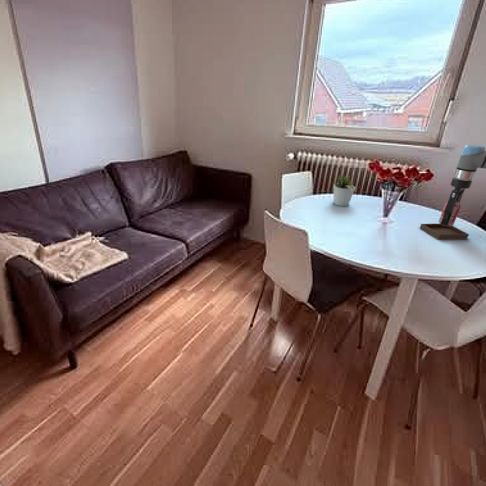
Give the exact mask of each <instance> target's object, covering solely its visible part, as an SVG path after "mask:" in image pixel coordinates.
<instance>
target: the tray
mask: <svg viewBox="0 0 486 486" xmlns="http://www.w3.org/2000/svg"><path fill="white" fill-rule="evenodd" d="M419 229H420V230H422V231H423V232H425V233H426V234H428V235H430V236H431V237H433V238H435V239H436V240H438V241H439V240H467V239H468V238H469V235H470V234H469V233H467V232H465V231H464V230H462V229H460V228H458V227H456V226H454V225H453V226H443V225H441V224H440V223H420V226H419Z"/></svg>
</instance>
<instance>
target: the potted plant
mask: <svg viewBox="0 0 486 486" xmlns="http://www.w3.org/2000/svg"><path fill="white" fill-rule="evenodd" d="M350 177H351V175H350V174H349V175H348V176H347V175H345V174H340V175H338V178H337V177H336V179H337V180H336V183H335V182H333V181H331V183H332V185H333V204H334V205H336V206H340V207H347V206H349V204H350V202H351V200H352V197H353V195H354V192H355V191H356V186H354V184H355V182H354V181H351V179H350Z"/></svg>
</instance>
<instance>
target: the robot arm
mask: <svg viewBox="0 0 486 486" xmlns="http://www.w3.org/2000/svg"><path fill="white" fill-rule="evenodd" d="M485 149H486V147H485V146H484V145H479V144H466V145H465V146H464V147H463V148H462V151H461V154H460V156H459V160H458V162H457V165H456V169H454V170H453V173H454V174H453V177H452V180H451V182H450V186H451V187H453V188H454V189H452V190H451V192H450V194H449V197H448V200H447V201H448V203H447V202H446V203H447V206H446V208H445V210H444V211H443V210H442V211H443V212H445V213H444V216H443V219H442V222H441V225H445V226H447V225H448V223H449V220H450V217H451V215H452V211H453V208H454V206H455V204H456V202H459V203H460V204H461V202H462V201H461V200H462V198H463V195H464V193H465V191H466V190H467V189H470V188H471V186H472V183H473V180H474V179H475V176H476V174H477V171H478V169H485V170H486V150H485Z"/></svg>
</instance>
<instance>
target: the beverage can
mask: <svg viewBox="0 0 486 486" xmlns="http://www.w3.org/2000/svg"><path fill="white" fill-rule="evenodd" d="M447 203H448V200H447V201H446V202H445V203H444V206H443V208H442V211H441V214H440V216H439V220H438V224H441V222H442V219H443V216H444V213H445V212H443V211H444V210H445V208H446V206H447ZM460 209H461V202H460V203H459V202H456V204H455V206H454V208H453V211H452V215H451V217H450V220H449V223H448V225H447V226H454V225H455V222H456V220H457V217H458V214H459V212H460ZM443 226H445V225H443Z"/></svg>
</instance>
